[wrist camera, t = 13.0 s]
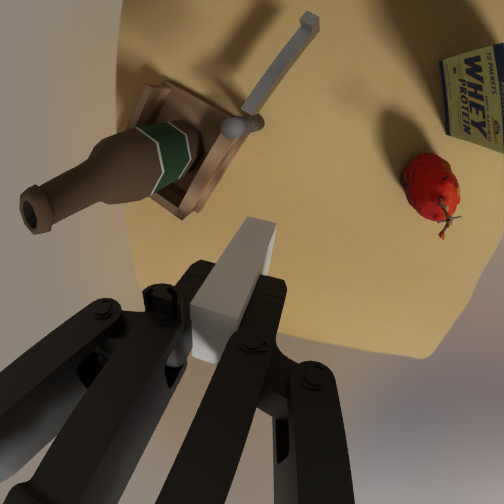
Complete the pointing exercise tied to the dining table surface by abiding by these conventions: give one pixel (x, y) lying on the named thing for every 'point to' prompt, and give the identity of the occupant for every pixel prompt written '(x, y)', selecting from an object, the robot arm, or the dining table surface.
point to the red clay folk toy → (431, 188)
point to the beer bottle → (116, 172)
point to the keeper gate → (282, 63)
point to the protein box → (475, 96)
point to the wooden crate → (213, 137)
